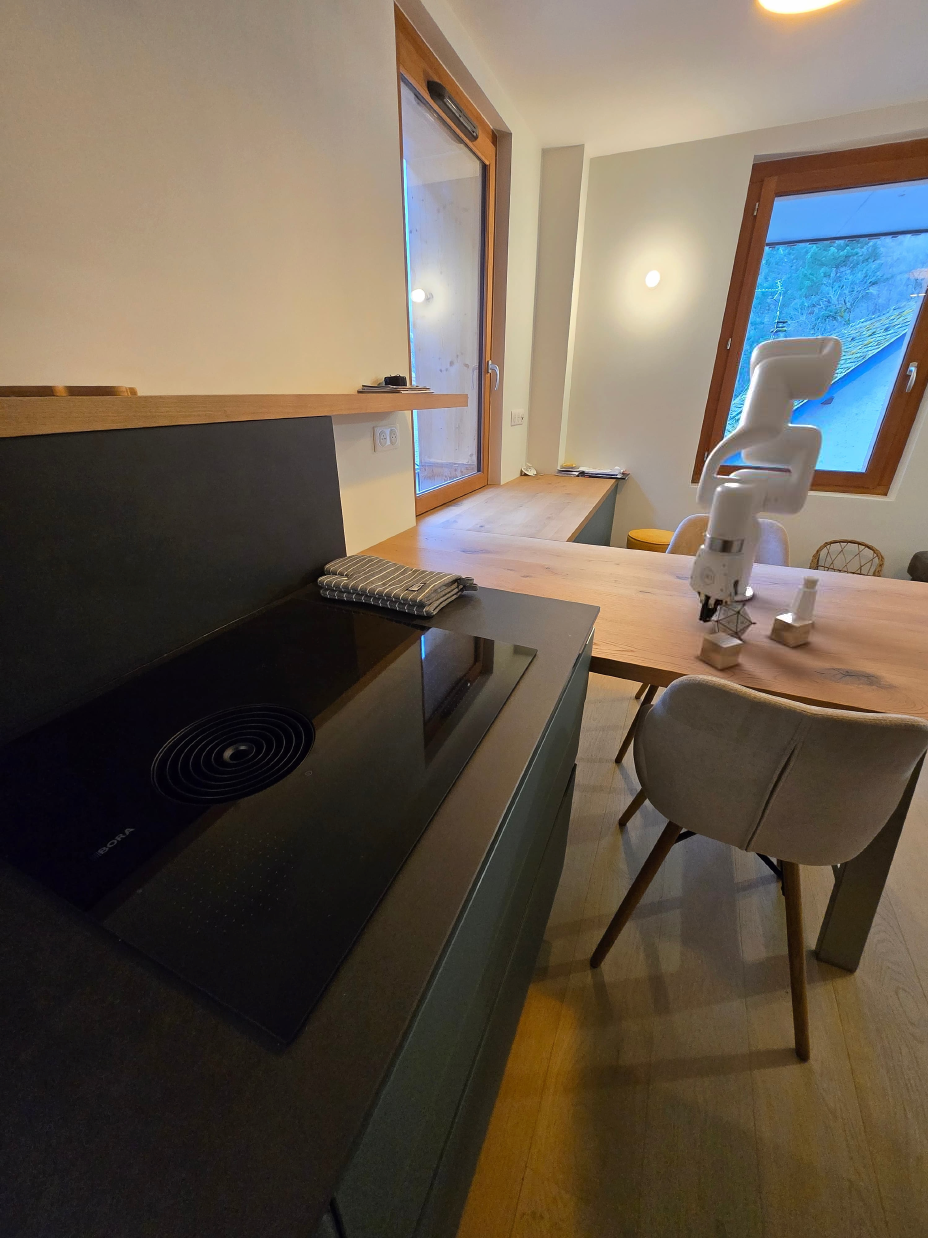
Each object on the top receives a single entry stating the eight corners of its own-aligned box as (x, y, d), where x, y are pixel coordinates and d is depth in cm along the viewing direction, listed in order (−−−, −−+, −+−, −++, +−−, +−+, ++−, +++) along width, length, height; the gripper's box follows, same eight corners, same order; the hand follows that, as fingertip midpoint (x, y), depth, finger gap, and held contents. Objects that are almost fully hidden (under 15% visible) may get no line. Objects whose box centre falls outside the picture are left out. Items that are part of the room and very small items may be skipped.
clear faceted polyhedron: (729, 656, 109) (747, 637, 100) (694, 634, 112) (709, 613, 103) (750, 628, 111) (770, 607, 102) (715, 607, 114) (732, 585, 105)
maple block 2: (769, 637, 108) (775, 617, 106) (784, 633, 110) (790, 612, 108) (790, 647, 104) (797, 626, 102) (806, 642, 106) (813, 621, 104)
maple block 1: (698, 658, 101) (703, 636, 99) (716, 652, 103) (721, 631, 101) (719, 669, 97) (724, 647, 95) (737, 664, 99) (743, 642, 96)
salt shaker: (803, 629, 112) (818, 584, 107) (779, 620, 116) (792, 576, 111) (816, 623, 114) (830, 578, 110) (791, 614, 119) (804, 571, 114)
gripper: (683, 536, 110) (669, 611, 118) (741, 556, 98) (721, 637, 106) (708, 532, 113) (693, 605, 121) (767, 551, 100) (746, 631, 108)
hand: (706, 620), depth 113 cm, fingers closed
